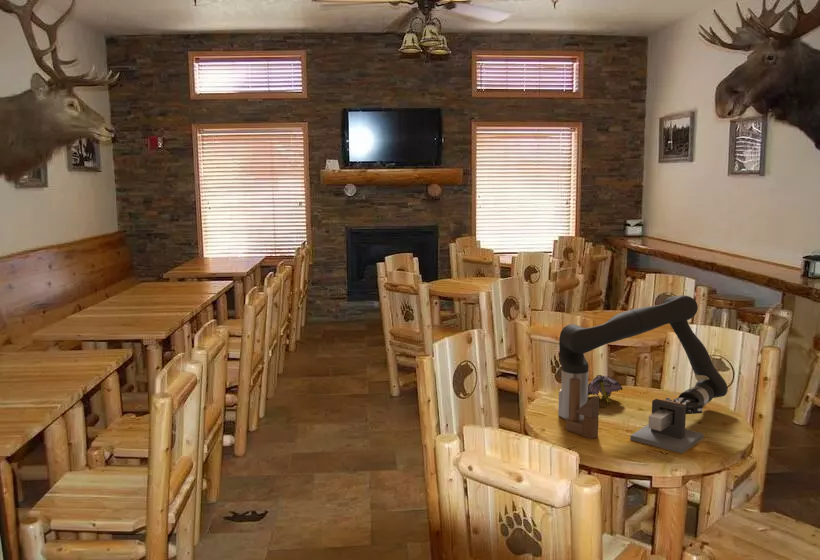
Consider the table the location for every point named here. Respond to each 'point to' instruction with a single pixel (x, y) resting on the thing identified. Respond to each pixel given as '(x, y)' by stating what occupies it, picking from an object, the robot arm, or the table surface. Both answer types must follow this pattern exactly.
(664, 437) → the base plate
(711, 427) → the table surface
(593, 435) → the wooden block
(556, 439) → the table surface
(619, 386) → the decorative flower
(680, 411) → the rubber collar
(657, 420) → the sliding block
